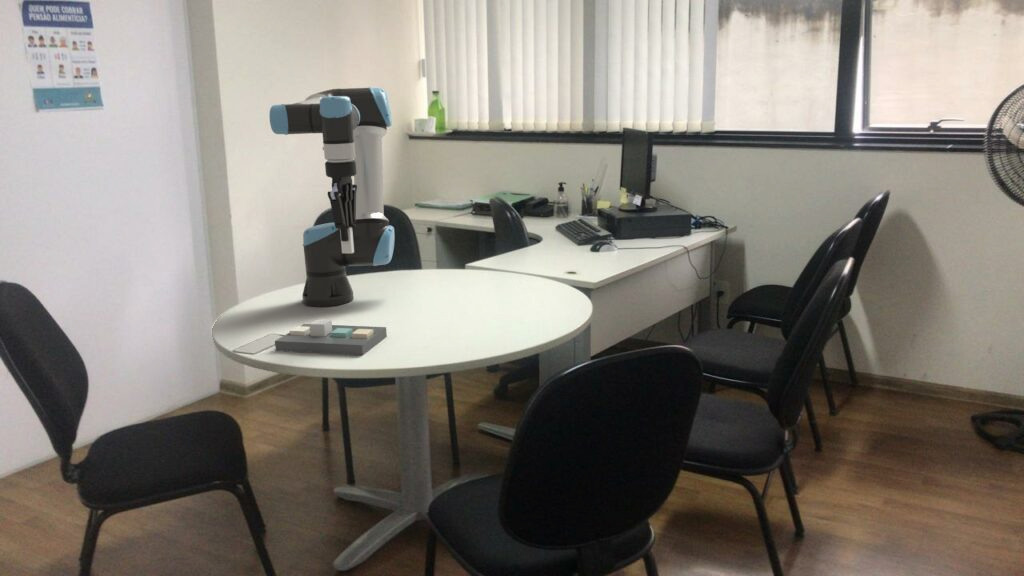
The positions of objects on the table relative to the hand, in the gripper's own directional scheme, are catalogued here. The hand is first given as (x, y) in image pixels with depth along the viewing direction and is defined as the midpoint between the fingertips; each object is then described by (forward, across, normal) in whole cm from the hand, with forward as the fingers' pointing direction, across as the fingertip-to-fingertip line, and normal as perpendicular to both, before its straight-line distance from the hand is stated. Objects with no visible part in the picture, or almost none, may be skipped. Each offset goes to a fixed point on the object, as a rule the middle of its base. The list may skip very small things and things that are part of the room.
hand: (348, 252), depth 204 cm
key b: (+19, +11, -4) cm, 22 cm away
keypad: (+21, +11, -1) cm, 24 cm away
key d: (+20, +11, +7) cm, 24 cm away
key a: (+21, +11, -10) cm, 25 cm away
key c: (+20, +11, +2) cm, 23 cm away
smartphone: (+22, +14, -19) cm, 32 cm away
